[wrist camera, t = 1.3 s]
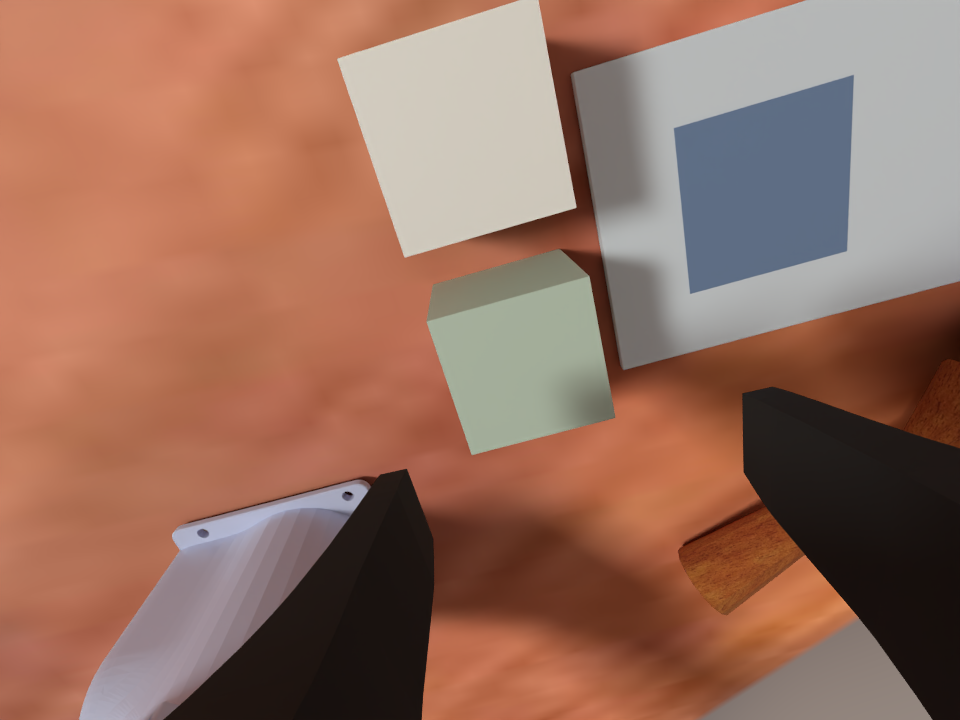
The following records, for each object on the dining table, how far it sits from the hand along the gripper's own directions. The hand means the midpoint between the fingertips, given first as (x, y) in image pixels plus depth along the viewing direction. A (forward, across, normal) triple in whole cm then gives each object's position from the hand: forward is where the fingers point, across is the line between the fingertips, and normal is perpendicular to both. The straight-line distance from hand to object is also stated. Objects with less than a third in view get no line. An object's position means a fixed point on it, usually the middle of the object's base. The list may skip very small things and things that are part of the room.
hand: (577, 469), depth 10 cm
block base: (+10, +1, 0) cm, 10 cm away
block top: (+10, +1, -7) cm, 12 cm away
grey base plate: (+10, -12, -3) cm, 16 cm away
